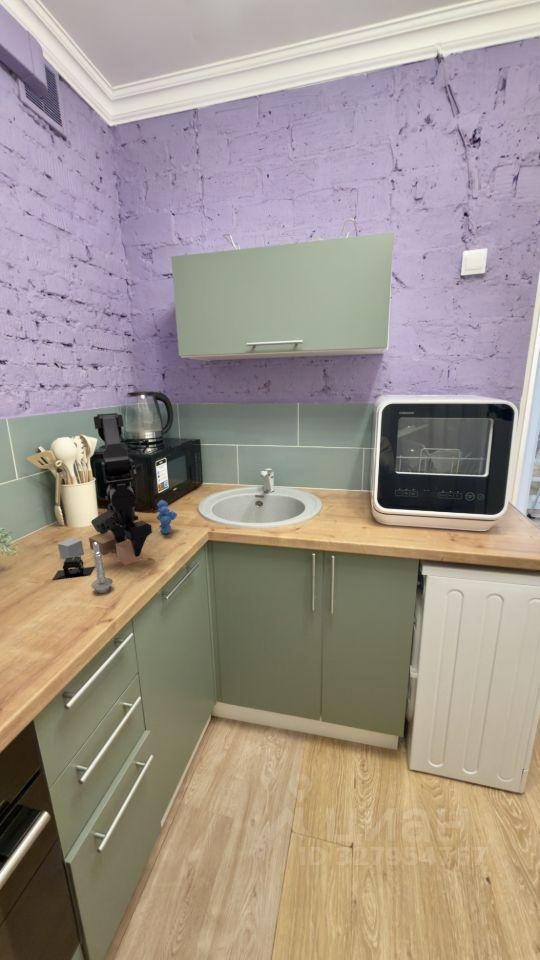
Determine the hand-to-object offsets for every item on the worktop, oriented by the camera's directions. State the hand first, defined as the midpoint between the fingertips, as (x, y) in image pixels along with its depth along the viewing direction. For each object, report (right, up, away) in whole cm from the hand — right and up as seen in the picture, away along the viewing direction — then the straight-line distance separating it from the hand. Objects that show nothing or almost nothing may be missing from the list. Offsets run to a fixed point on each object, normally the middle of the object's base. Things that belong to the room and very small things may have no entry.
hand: (129, 551), depth 113 cm
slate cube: (-18, -2, +4) cm, 19 cm away
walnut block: (-9, -1, +9) cm, 13 cm away
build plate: (-12, -5, -6) cm, 15 cm away
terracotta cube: (0, -2, +1) cm, 2 cm away
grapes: (+7, +3, +18) cm, 20 cm away
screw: (-1, -7, -16) cm, 17 cm away
